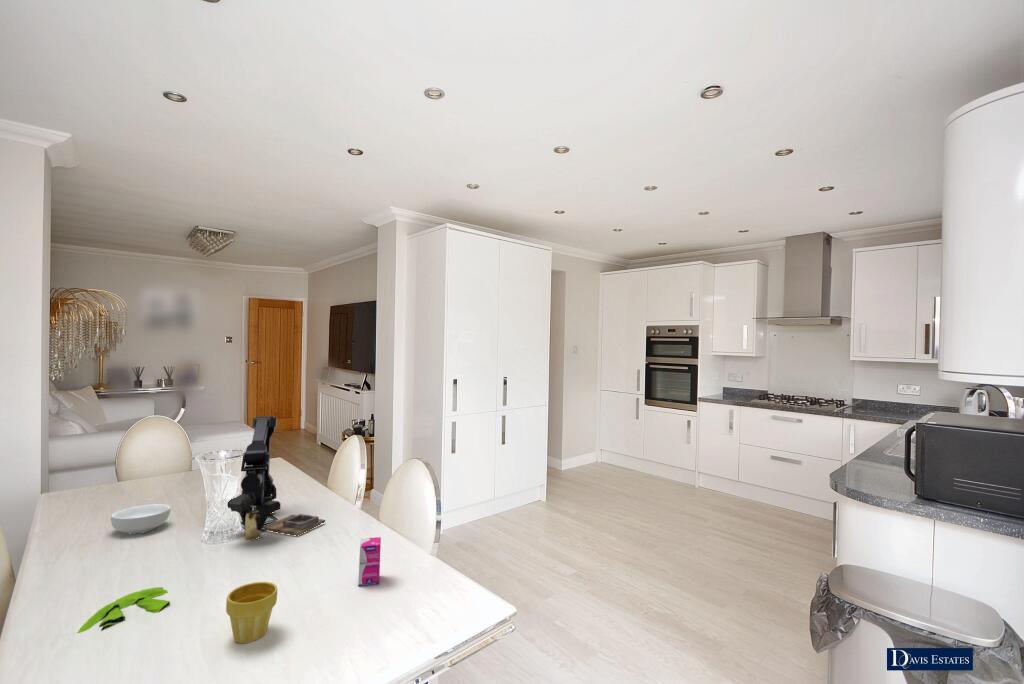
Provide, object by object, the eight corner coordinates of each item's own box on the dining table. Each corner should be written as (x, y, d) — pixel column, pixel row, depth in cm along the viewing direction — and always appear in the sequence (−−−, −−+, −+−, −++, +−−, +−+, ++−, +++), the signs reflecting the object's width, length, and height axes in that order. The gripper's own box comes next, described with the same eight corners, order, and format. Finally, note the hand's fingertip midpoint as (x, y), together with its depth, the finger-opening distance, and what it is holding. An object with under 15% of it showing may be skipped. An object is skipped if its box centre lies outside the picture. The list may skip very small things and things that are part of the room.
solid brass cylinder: (241, 539, 160) (242, 513, 161) (253, 534, 165) (254, 508, 165) (252, 541, 159) (253, 515, 159) (264, 536, 163) (265, 510, 164)
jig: (262, 530, 168) (262, 521, 168) (291, 518, 182) (292, 509, 182) (297, 537, 163) (297, 527, 163) (324, 523, 176) (325, 514, 177)
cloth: (166, 584, 130) (167, 575, 130) (192, 613, 116) (192, 603, 116) (66, 614, 114) (67, 605, 114) (82, 652, 100) (83, 641, 100)
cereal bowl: (181, 523, 174) (181, 504, 175) (141, 540, 158) (142, 519, 158) (140, 520, 176) (141, 502, 176) (96, 537, 160) (98, 517, 160)
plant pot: (283, 621, 112) (285, 580, 112) (262, 648, 101) (264, 603, 102) (240, 621, 111) (242, 580, 112) (214, 648, 101) (216, 603, 101)
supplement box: (358, 587, 129) (359, 545, 129) (359, 577, 135) (360, 537, 135) (379, 584, 130) (380, 544, 131) (379, 575, 136) (380, 536, 137)
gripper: (214, 487, 158) (212, 533, 157) (256, 493, 152) (254, 541, 151) (242, 479, 168) (240, 522, 168) (282, 485, 163) (280, 529, 162)
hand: (253, 529), depth 162 cm, fingers open, 6 cm apart
